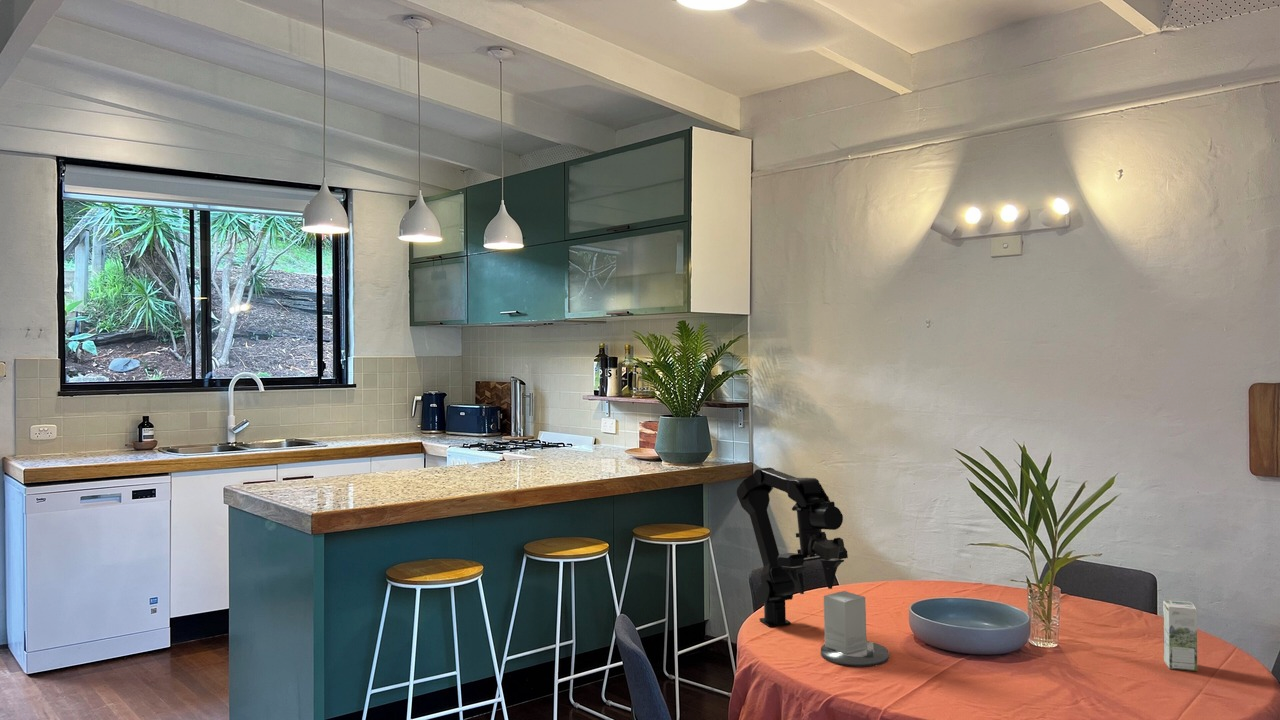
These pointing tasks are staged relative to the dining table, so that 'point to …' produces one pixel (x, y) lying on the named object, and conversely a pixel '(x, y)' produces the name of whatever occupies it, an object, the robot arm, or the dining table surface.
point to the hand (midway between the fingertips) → (816, 591)
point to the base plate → (858, 656)
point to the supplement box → (845, 622)
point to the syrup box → (1180, 635)
